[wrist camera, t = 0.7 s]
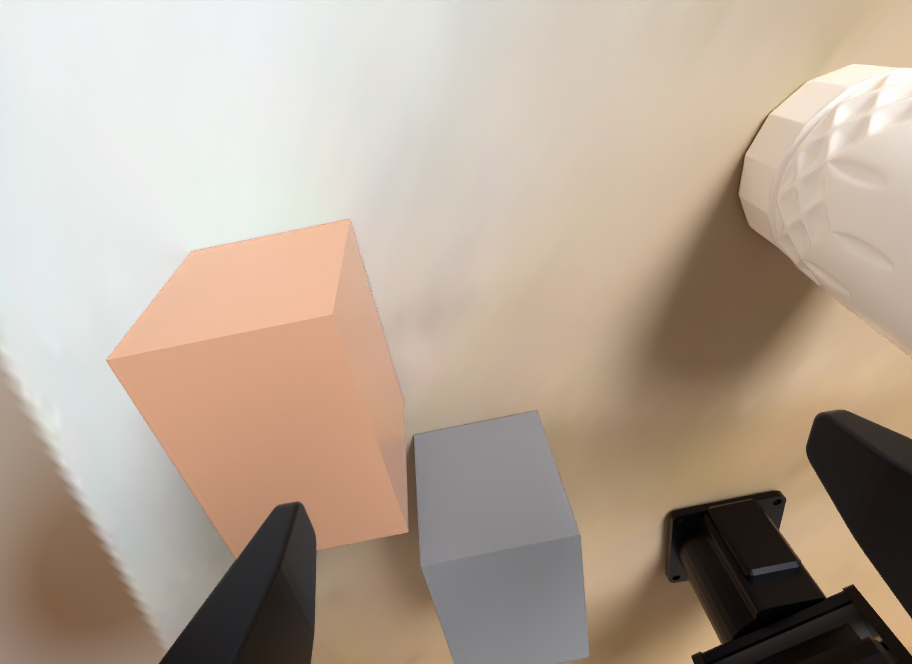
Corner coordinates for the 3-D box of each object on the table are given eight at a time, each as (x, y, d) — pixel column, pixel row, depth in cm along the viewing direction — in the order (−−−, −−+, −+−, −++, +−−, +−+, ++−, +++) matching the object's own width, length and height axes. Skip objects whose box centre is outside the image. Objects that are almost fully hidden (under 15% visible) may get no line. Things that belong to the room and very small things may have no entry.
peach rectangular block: (404, 403, 25) (408, 532, 19) (276, 429, 25) (240, 565, 19) (350, 219, 20) (332, 314, 14) (190, 251, 20) (105, 360, 14)
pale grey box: (551, 529, 31) (589, 656, 25) (447, 549, 31) (460, 682, 25) (537, 410, 26) (580, 534, 20) (413, 434, 26) (420, 566, 20)
